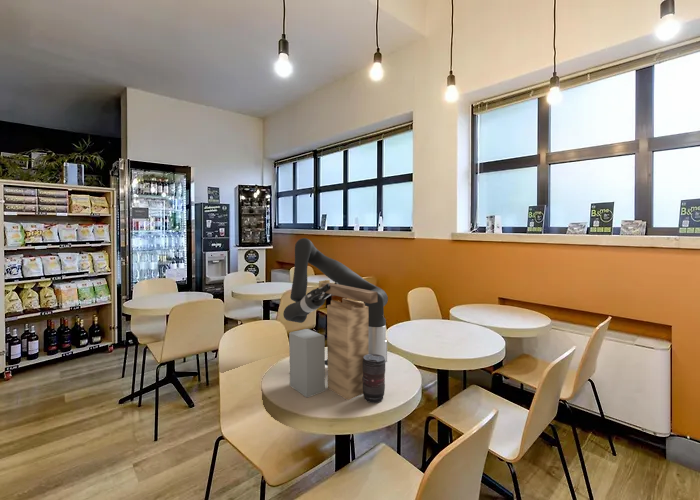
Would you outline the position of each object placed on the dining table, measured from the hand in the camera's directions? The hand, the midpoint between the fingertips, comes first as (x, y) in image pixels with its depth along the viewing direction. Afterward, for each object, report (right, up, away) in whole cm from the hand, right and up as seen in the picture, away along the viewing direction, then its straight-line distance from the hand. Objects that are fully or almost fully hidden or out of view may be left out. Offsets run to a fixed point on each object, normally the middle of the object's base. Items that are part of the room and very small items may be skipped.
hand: (333, 285), depth 133 cm
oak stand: (+6, -39, -4) cm, 40 cm away
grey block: (-10, -39, -3) cm, 40 cm away
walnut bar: (+5, -4, -6) cm, 8 cm away
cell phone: (-1, -38, +24) cm, 45 cm away
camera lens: (+15, -40, -11) cm, 44 cm away
